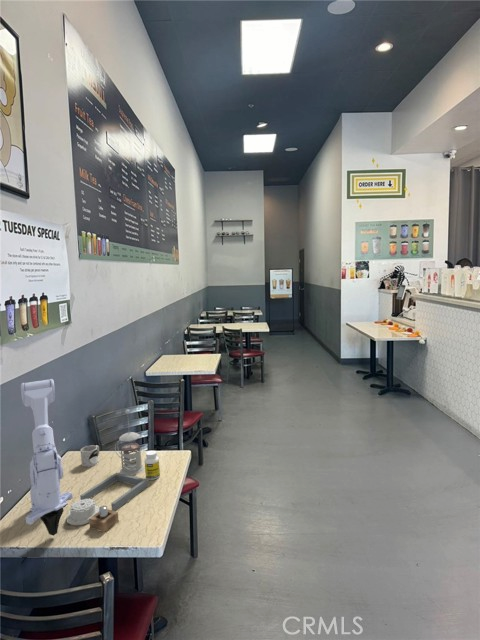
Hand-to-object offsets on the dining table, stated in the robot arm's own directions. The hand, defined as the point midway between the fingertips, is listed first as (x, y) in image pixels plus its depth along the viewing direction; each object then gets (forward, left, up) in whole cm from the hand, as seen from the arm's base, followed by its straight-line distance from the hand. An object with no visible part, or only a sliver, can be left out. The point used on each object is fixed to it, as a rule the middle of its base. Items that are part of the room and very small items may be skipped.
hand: (53, 533), depth 119 cm
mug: (-29, +43, -1) cm, 52 cm away
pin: (+10, +11, -1) cm, 15 cm away
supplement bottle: (+5, +41, -1) cm, 41 cm away
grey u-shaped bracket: (0, +26, -1) cm, 26 cm away
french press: (-8, +43, -1) cm, 44 cm away
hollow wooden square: (+10, +11, -1) cm, 15 cm away
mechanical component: (0, +12, -2) cm, 12 cm away
